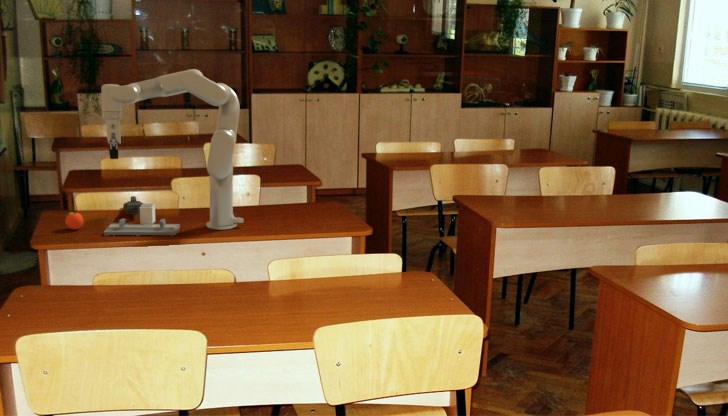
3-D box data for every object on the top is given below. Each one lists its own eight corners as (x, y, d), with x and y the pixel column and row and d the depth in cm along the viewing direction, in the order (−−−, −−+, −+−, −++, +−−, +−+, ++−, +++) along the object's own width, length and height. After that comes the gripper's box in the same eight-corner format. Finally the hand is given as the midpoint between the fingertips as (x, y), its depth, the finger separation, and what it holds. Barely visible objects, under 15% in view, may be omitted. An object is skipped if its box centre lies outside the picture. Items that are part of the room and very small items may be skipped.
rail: (175, 226, 310) (175, 219, 309) (174, 229, 305) (174, 221, 305) (111, 226, 307) (110, 218, 306) (108, 229, 303) (108, 221, 302)
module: (155, 221, 322) (154, 203, 320) (152, 226, 315) (152, 207, 313) (143, 221, 321) (142, 203, 319) (140, 226, 315) (139, 207, 313)
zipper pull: (125, 205, 321) (122, 193, 344) (126, 220, 323) (123, 207, 345) (147, 204, 324) (142, 192, 347) (147, 219, 326) (143, 206, 348)
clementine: (59, 230, 304) (58, 213, 303) (71, 226, 311) (70, 209, 309) (76, 232, 302) (75, 215, 301) (87, 228, 309) (86, 211, 307)
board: (179, 227, 314) (179, 224, 314) (175, 235, 302) (175, 232, 301) (111, 227, 311) (110, 223, 311) (103, 235, 299) (103, 231, 298)
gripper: (122, 117, 297) (124, 160, 301) (121, 112, 313) (122, 153, 317) (102, 117, 294) (104, 160, 298) (101, 112, 310) (103, 153, 314)
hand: (113, 156), depth 308 cm, fingers open, 9 cm apart
